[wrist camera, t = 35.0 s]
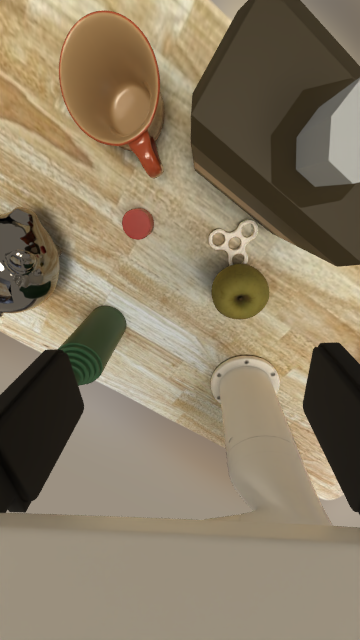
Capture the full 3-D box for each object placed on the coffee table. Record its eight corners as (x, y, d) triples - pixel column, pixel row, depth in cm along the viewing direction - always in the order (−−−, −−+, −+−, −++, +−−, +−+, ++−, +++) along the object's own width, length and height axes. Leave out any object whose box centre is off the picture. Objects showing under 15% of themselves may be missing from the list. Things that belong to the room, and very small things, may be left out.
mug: (86, 99, 30) (37, 56, 21) (148, 50, 28) (123, -21, 19) (138, 197, 35) (116, 197, 25) (195, 162, 32) (194, 148, 23)
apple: (220, 250, 36) (224, 265, 30) (271, 266, 37) (285, 284, 31) (203, 295, 40) (204, 317, 34) (250, 309, 41) (258, 332, 35)
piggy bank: (86, 225, 37) (42, 237, 26) (62, 309, 43) (20, 344, 33) (10, 189, 35) (-68, 185, 25) (-3, 280, 42) (-69, 308, 31)
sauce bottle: (129, 337, 45) (91, 413, 29) (94, 339, 45) (39, 414, 30) (122, 304, 42) (77, 369, 26) (86, 306, 43) (20, 370, 27)
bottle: (226, 97, 29) (316, -222, 7) (322, 186, 32) (595, 164, 10) (186, 164, 32) (160, 92, 10) (277, 238, 36) (410, 309, 13)
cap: (143, 201, 35) (139, 202, 32) (159, 226, 36) (156, 228, 34) (121, 218, 36) (116, 220, 34) (138, 242, 37) (134, 245, 35)
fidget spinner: (243, 270, 38) (244, 271, 37) (202, 260, 38) (202, 261, 37) (260, 222, 35) (261, 222, 34) (215, 210, 34) (215, 211, 34)
